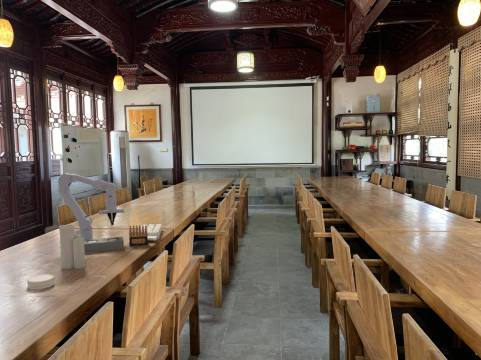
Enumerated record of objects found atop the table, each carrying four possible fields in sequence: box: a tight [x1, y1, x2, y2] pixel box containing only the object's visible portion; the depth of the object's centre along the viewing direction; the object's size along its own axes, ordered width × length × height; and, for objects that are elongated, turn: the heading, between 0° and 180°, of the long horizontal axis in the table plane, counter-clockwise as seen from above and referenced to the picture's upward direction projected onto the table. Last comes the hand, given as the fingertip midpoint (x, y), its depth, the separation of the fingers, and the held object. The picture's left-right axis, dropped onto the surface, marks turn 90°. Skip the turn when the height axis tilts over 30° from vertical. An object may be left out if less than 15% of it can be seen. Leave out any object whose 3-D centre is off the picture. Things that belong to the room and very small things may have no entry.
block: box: [84, 236, 125, 254], centre depth 214 cm, size 22×10×5 cm, turn 110°
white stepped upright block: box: [58, 224, 86, 270], centre depth 182 cm, size 11×7×20 cm, turn 92°
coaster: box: [26, 273, 55, 291], centre depth 158 cm, size 10×10×4 cm
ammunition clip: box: [128, 224, 149, 247], centre depth 222 cm, size 11×2×12 cm, turn 102°
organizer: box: [138, 223, 162, 241], centre depth 244 cm, size 13×5×35 cm
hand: (112, 225), depth 230 cm, fingers closed
